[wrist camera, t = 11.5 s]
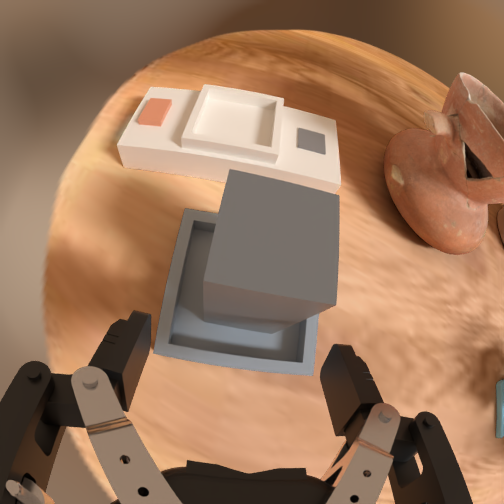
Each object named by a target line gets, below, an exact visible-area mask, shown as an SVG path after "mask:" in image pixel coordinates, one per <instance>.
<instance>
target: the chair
mask: <svg viewBox="0 0 504 504" xmlns="http://www.w3.org/2000/svg"><path fill="white" fill-rule="evenodd" d="M496 399H497V421H496V438H502V437H503V436H504V380H500V381H498V382H497V384H496Z"/></svg>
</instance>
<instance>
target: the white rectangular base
mask: <svg viewBox="0 0 504 504" xmlns="http://www.w3.org/2000/svg"><path fill="white" fill-rule="evenodd" d="M283 105H284V98H280V97H275V96H271V95H266V94H261V93H256V92H251V91H246V90H240V89H234V88H228V87H222V86H214V85H207V84H204V86H203V88H202V90H201V91H194V90H185V89H174V88H161V87H150V89H149V90H148V92H147V94H146V95H145V97H144V98H143V100H142V101H141V103H140V105H139V106H138V108H137V110H136V111H135V113H134V115H133V116H132V118H131V120H130V122H129V123H128V125H127V127H126V129H125V131H124V132H123V134H122V136H121V138H120V140H119V142H118V143H117V147H118V151H119V154H120V157H121V160H122V164H123V167H124V168H132V169H140V170H148V171H155V172H162V173H169V174H176V175H183V176H189V177H195V178H201V179H207V180H213V181H219V182H225V183H226V181H227V177H228V173H229V169H233V170H238V171H242V172H247V173H252V174H256V175H261V176H265V177H270V178H274V179H278V180H282V181H286V182H291V183H295V184H299V185H303V186H306V187H310V188H314V189H318V190H322V191H325V192H329V193H333V194H335V193H336V191H337V190H338V189H339V187H340V186H341V175H340V161H339V148H338V137H337V127H336V120H333V119H330V118H327V117H323V116H320V115H316V114H313V113H309V112H305V111H301V110H298V109H294V108H289V107H285V106H283Z"/></svg>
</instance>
